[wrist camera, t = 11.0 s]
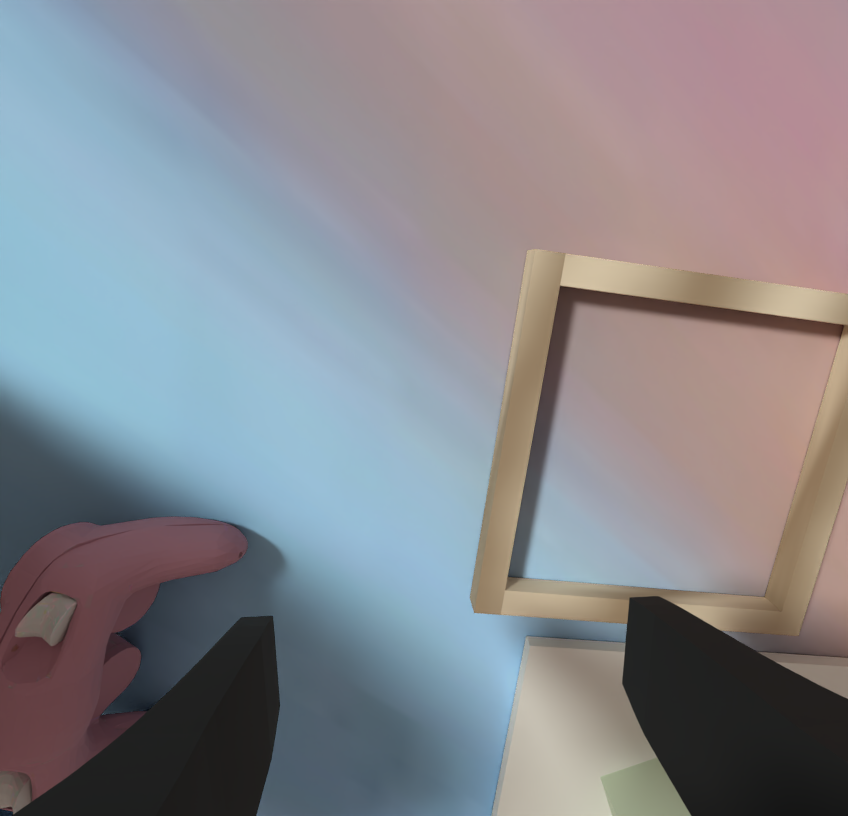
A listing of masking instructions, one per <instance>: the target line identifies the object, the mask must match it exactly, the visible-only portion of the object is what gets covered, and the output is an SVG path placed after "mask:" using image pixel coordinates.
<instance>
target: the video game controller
mask: <svg viewBox="0 0 848 816" xmlns="http://www.w3.org/2000/svg"><path fill="white" fill-rule="evenodd" d="M247 548H248V542H247V539H246V537H245V536H244V535H243V534H242V532H241V531H240V530H239V529H237V528H236V527H234V526H232V525H230V524H227V523H224V522H220V521H216V520H210V519H203V518H196V517H177V516H175V517H156V518H147V519H141V520H134V521H128V522H122V523H115V524H109V525H102V526H100V525H97V524H93V523H89V522H78V523H73V524H69V525H66V526H63V527H60V528H58V529H56V530H53V531H52V532H50V533H49V534H47V535H45V536H44V537H42V538H41V539H40V540H39V541H37V542H36V543H35V544H34V545H33V546H32V547H31V548H30V549H29V550H28V551H27V552H26V553H25V554H24V555H23V556H22V557H21V559H20V560H19V561H18V563H17V564H16V565H15V566H14V568H13V569H12V570H11V572H10V573H9V575H8V577H7V579H6V581H5V583H4V586H3V588H2V591H1V599H0V604H1V612H0V809H3V810H8V811H13V814H15V813H16V812H18V811H19V810H20V809H22V808H23V807H25V806H26V805H28V804H29V803H31V802H32V801H33V800H35V799H36V798H38V797H39V796H41V795H42V794H44V793H45V792H46V791H48V790H49V789H51V788H52V787H54V786H55V785H57V784H58V783H59V782H61V781H62V780H64V779H65V778H67V777H68V776H69V775H71V774H72V773H73V772H75V771H76V770H77V769H79V768H80V767H81V766H83V765H84V764H85V763H86V762H88V761H89V760H90V759H91V758H93V757H94V756H95V755H97V754H98V753H99V752H100V751H102V750H103V749H104V748H106V747H107V746H108V745H109V744H111V743H112V742H113V741H114V740H115V739H117V738H118V737H119V736H120V735H121V734H123V733H124V732H125V731H126V730H127V729H128V728H130V727H131V726H132V725H133V724H134V723H135V722H136V721H138V720H139V719H140V718H141V717H142V716H143V715H144V714H145V713H146V712H147V711H134V712H125V713H115V714H106V715H101V714H102V713H103V712H104V710H105V709H106V708H107V707H108V706H109V705H110V704H111V703H112V702H113V701H114V700H115V699H116V698H117V697H118V696H119V695H120V694H121V693H122V692H123V691H124V690H125V689H126V688H127V686H128V685H129V684H130V683H131V681H132V680H133V678H134V677H135V675H136V673H137V671H138V669H139V666H140V662H141V653H140V650H139V649H138V648H137V647H135V646H134V645H132V644H130V643H129V642H128V641H126V640H125V639H123V638H122V637H120V636H119V635H117V634H115V633H116V632H120V631H122V630H124V629H126V628H128V627H130V626H131V625H133V624H135V623H136V622H137V621H138V620H140V619H141V618H142V617H143V616H144V614H145V613H146V612H147V611H148V609H149V608H150V606H151V605H152V603H153V602H154V600H155V597H156V595H157V593H158V590H159V586H160V583H162V582H166V581H169V580H174V579H179V578H184V577H189V576H195V575H200V574H205V573H210V572H215V571H218V570H220V569H223V568H225V567H227V566H229V565H231V564H233V563H235V562H237V561H238V560H239V559H241V558H242V557H243V556H244V554H245V553H246V551H247Z"/></svg>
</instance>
